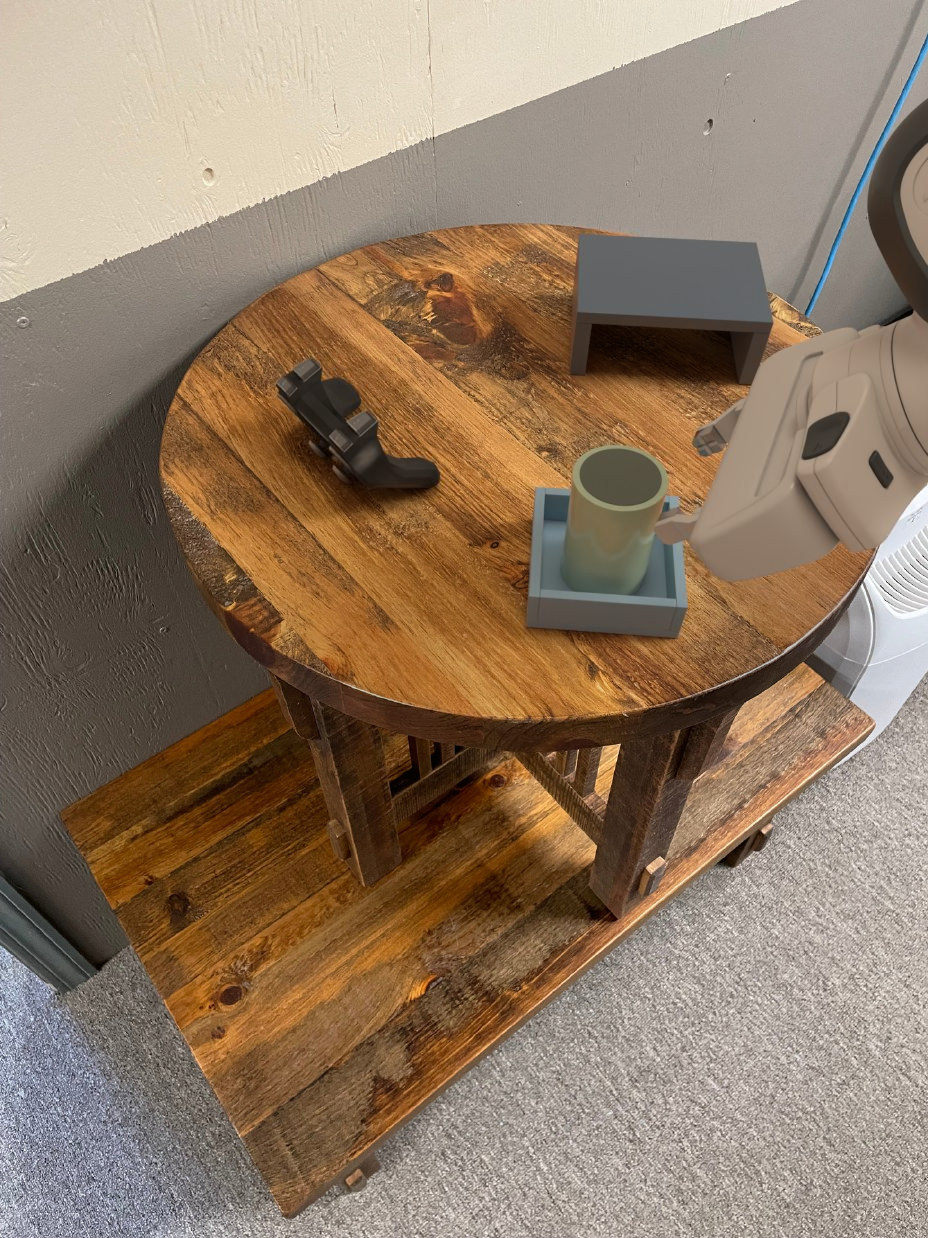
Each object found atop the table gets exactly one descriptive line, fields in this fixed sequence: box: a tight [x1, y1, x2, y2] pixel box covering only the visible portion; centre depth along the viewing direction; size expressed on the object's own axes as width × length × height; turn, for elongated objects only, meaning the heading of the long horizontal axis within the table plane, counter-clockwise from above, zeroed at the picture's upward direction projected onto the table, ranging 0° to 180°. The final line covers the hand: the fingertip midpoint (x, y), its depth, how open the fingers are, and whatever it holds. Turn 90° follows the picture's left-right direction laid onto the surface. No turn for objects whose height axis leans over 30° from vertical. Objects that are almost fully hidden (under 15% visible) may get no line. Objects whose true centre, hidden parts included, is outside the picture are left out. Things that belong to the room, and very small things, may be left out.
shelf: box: [569, 233, 775, 386], centre depth 87 cm, size 18×14×7 cm
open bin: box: [525, 486, 689, 639], centre depth 68 cm, size 12×12×4 cm
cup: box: [560, 444, 670, 596], centre depth 65 cm, size 7×7×10 cm
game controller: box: [275, 357, 441, 491], centre depth 75 cm, size 16×7×10 cm, turn 37°
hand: (680, 485), depth 61 cm, fingers open, 8 cm apart
